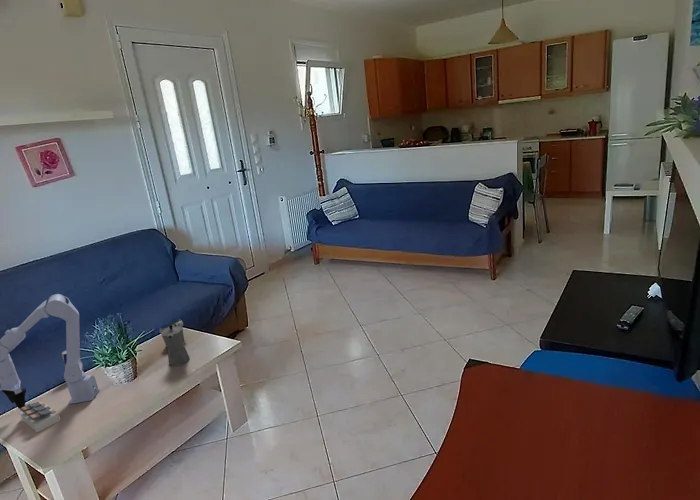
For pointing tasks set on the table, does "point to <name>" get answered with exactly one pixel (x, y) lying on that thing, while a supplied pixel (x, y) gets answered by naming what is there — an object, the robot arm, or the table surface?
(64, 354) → the energy drink
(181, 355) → the coffeepot
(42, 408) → the rocker
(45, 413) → the rocker
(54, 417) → the switch unit
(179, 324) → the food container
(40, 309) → the robot arm
